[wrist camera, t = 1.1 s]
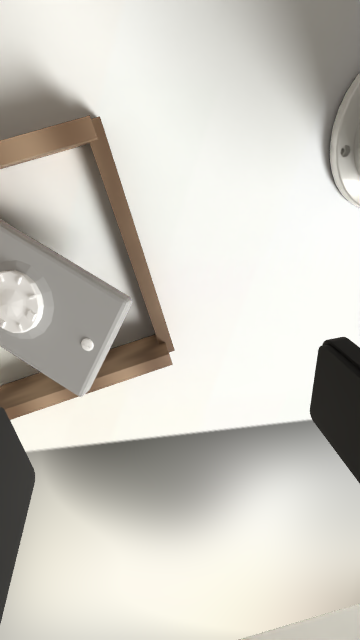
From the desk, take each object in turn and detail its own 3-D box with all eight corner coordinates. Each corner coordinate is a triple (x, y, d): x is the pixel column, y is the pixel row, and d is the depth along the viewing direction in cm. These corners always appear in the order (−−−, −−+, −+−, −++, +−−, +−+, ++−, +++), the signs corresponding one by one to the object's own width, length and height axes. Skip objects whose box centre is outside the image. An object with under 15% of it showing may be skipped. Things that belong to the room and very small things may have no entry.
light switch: (-60, 194, 21) (122, 304, 20) (6, 204, 27) (152, 291, 25) (-86, 302, 24) (74, 405, 22) (-21, 290, 29) (110, 373, 28)
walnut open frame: (100, 119, 22) (99, 112, 19) (170, 339, 32) (178, 362, 28) (-140, 187, 21) (-188, 193, 18) (7, 394, 31) (-5, 424, 27)
